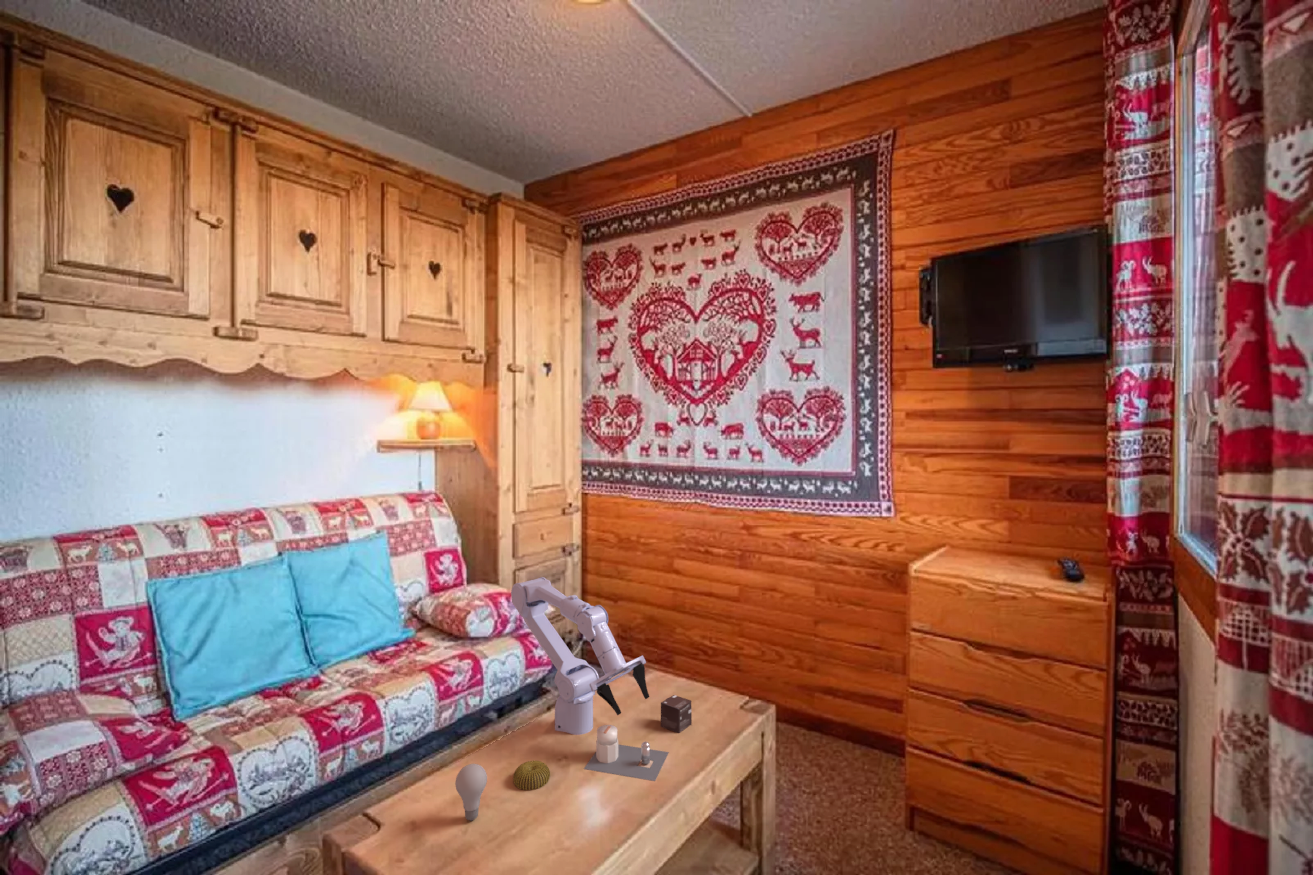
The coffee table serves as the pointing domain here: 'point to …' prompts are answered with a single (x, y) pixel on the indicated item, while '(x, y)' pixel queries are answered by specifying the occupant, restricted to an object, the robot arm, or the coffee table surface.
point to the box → (676, 713)
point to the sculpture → (531, 774)
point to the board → (630, 763)
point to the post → (645, 753)
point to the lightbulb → (471, 788)
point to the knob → (607, 744)
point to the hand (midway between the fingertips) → (633, 706)
